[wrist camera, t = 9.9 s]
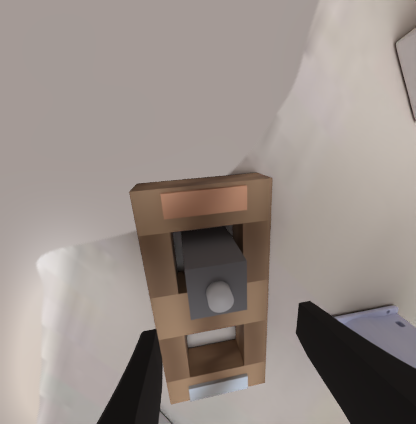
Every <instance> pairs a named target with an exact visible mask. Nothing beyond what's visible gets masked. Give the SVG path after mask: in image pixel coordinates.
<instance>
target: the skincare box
mask: <svg viewBox="0 0 416 424" xmlns="http://www.w3.org/2000/svg"><path fill="white" fill-rule="evenodd" d="M158 424H171V423H170V422H169V421H168V419H167V418H166V417H165V416H164V415H163V414H162V413H161V412H160V413H159V423H158Z"/></svg>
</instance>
